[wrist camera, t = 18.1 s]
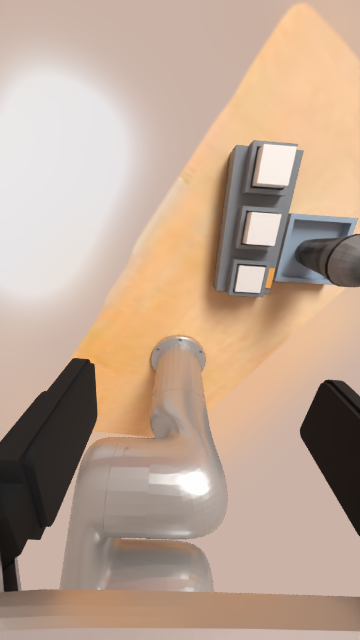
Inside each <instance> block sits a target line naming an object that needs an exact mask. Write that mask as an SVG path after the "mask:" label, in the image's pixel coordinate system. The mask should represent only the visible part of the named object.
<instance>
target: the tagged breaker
mask: <svg viewBox="0 0 360 640" xmlns="http://www.w3.org/2000/svg"><path fill="white" fill-rule="evenodd" d="M264 273H265V267H263V266H261V265H249V264H237V269H236V275H235V281H234V287H233V289H234V291H235V292H252V293H260V291H261V286H262V282H263V277H264Z"/></svg>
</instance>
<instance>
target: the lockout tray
mask: <svg viewBox="0 0 360 640" xmlns="http://www.w3.org/2000/svg"><path fill="white" fill-rule="evenodd" d="M357 220H358V218H345V217H331V216H318V215H304V214H288V218H287V222H286V226H285V230H284V234H283V239H282V243H281V247H280V251H279V255H278V259H277V264H276V268H275V272H274V276H273V280H274V281H280V282H296V283H312V284H328V285H334V284H332V283H331V282H330V281H329V280H328V279H326V278H325V277H324V276H322V275H321V274H319V273H317V272H315V271H313V270H311V269H309V268H307V267H305V266H303V265H302V264H300V263H299V262H297V261H296V258H295V251H296V249H297V247H298V245H299V244H300V243H302V242H303V241H305V240H311V239H323V238H342V237H346V236H351V235H352V234H353V231H354V228H355V226H356V223H357Z"/></svg>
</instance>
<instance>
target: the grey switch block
mask: <svg viewBox="0 0 360 640" xmlns="http://www.w3.org/2000/svg"><path fill="white" fill-rule="evenodd" d="M297 146H298V144H292V143H280V142H268V141H256V140H254V141H253V142H252V143H251V144H250V145H249V146H242V145H236V146H235V148H234V149H233V150H232V152H231V153H230V160H229V168H228V175H227V183H226V191H225V199H224V206H223V214H222V222H221V230H220V237H219V245H218V253H217V261H216V268H215V276H214V284H213V286H214V288H215V289H216V291H225V292H227V294H228V295H232V296H249V297H263V295H264V294H269V293H270V289H271V285H272V280H273V276H274V272H275V268H276V264H277V259H278V255H279V251H280V247H281V243H282V239H283V234H284V230H285V226H286V222H287V218H288V213H289V209H290V205H291V201H292V197H293V193H294V188H295V184H296V180H297V176H298V172H299V167H300V163H301V159H302V155H303V151H302V150H297ZM237 264H249V265H261V266H263V267H265V273H264V277H263V282H262V286H261V291H260V293H252V292H235V291H234V289H233V287H234V281H235V275H236V269H237Z"/></svg>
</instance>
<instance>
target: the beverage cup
mask: <svg viewBox="0 0 360 640" xmlns="http://www.w3.org/2000/svg"><path fill="white" fill-rule="evenodd" d="M295 258H296V261H297V262H299V263H300V264H302V265H303V266H305V267H307V268H309V269H311V270H313V271H315V272H317V273H319V274H321V275H322V276H324V277H325V278H326V279H328V280H329V281H330V282H331V283H332V284H334V285H337V286H342V287H359V286H360V234H355V235H351V236H346V237H342V238H323V239H311V240H305V241H303V242H302V243H300V244H299V245H298V247H297V249H296V251H295Z"/></svg>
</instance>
